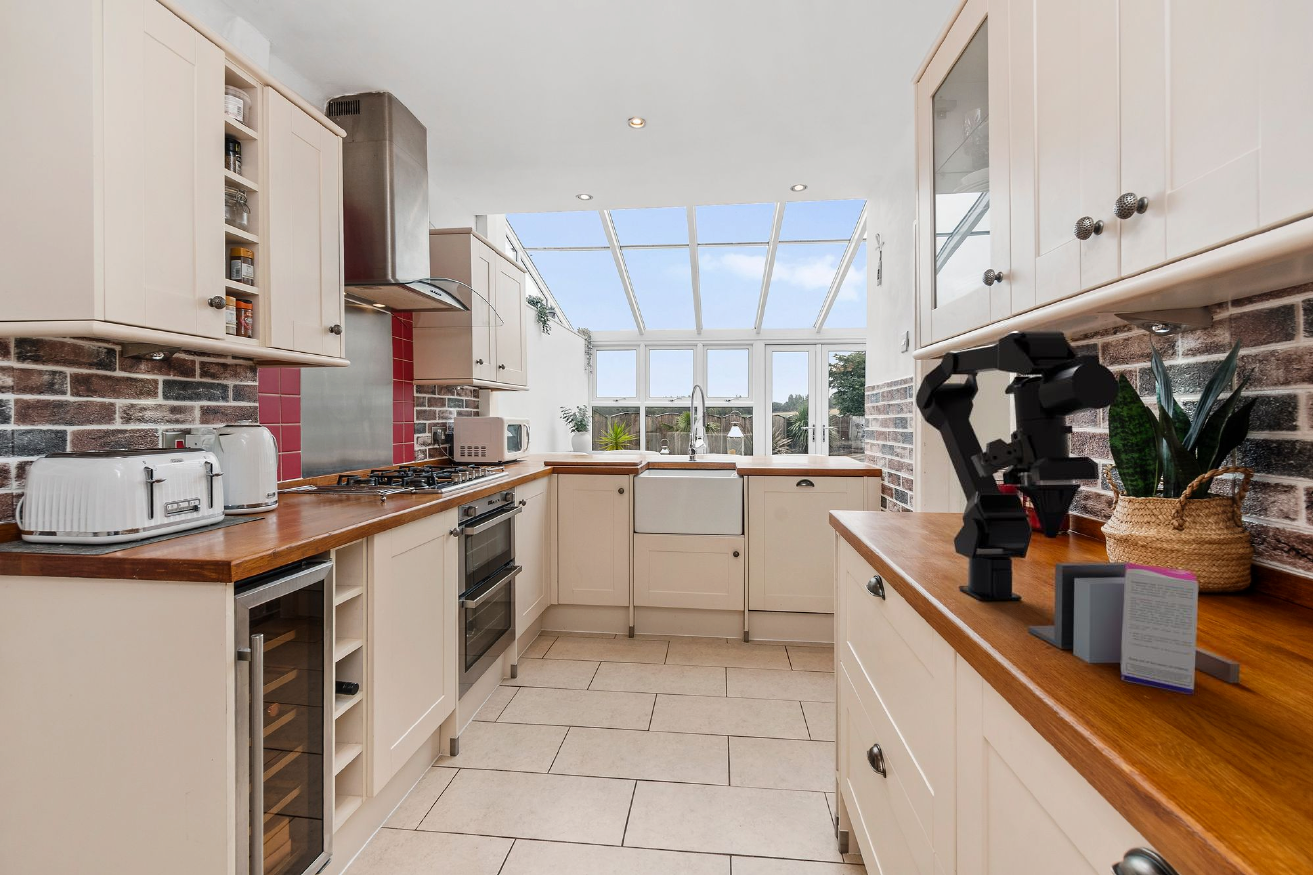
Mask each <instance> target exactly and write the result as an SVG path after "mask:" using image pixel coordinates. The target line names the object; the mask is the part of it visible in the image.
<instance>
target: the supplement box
mask: <svg viewBox="0 0 1313 875" xmlns="http://www.w3.org/2000/svg"><path fill="white" fill-rule="evenodd" d="M1198 597H1199V582H1198V580H1197V578H1196V577H1195V575H1194V574H1193V572H1192V571H1189V570H1184V569H1182V570H1181V569H1174V568H1167V567H1166V568H1165V567H1157V566H1151V565H1142V564H1136V563H1133V564H1129V563H1127V564H1126V565H1125V585H1124V607H1123V624H1122V642H1121V663H1120V676H1121V680H1122V681H1124V682H1128V683H1134V684H1137V685H1138V684H1139V685H1144V686H1148V687H1153V688H1159V689H1163V690H1168V691H1171V692H1172V691H1173V692H1177V693H1182V694H1187V695H1193V694H1194V690H1195V675H1196V674H1195V670H1196V668H1195V652H1196V646H1197V631H1198V630H1197V627H1198V625H1197V624H1198V623H1197V622H1198V601H1199V600H1198V599H1199V598H1198Z"/></svg>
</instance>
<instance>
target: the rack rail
mask: <svg viewBox="0 0 1313 875" xmlns="http://www.w3.org/2000/svg"><path fill="white" fill-rule="evenodd" d="M1240 667H1241V666H1240V663H1238V662H1235V661H1234V660H1230V659H1228V658H1226V657H1223V656H1221V655H1218V654H1216V653H1213V652H1211V651H1208V650H1206V649H1205V648H1204V649H1203V648H1201V647H1199V646H1197V645H1196V652H1195V669H1196V670H1200V671H1202V672H1204V673H1206V674H1208V675H1210V676H1212V677H1215V678H1217V679H1220V680H1222V681H1224V682H1226V683H1228V684H1240V672H1241V671H1240V669H1241V668H1240Z"/></svg>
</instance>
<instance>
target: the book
mask: <svg viewBox="0 0 1313 875" xmlns="http://www.w3.org/2000/svg"><path fill="white" fill-rule="evenodd" d="M1124 585H1125V578H1075V582H1074V649H1073V653H1072V655H1073V656H1075V657H1077V658H1078V659H1080V660H1082V661H1085V662H1086V663H1088V664H1104V663H1105V664H1106V663H1107V664H1109V663H1111V664H1113V663H1114V664H1115V663H1116V664H1117V663H1120V664H1121V642H1122V624H1123V607H1124Z"/></svg>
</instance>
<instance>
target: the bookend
mask: <svg viewBox="0 0 1313 875" xmlns="http://www.w3.org/2000/svg"><path fill="white" fill-rule="evenodd" d="M1127 563H1129V564H1134V563H1132V562H1129V561H1120V562H1117V561H1116V562H1114V561H1113V562H1112V561H1111V562H1055V564H1054V565H1055V566H1054V569H1055V570H1054V572H1055V573H1054V625H1027V627H1026V629H1027V630H1026V631H1027V632H1029V633H1030V634H1032V635H1034V636H1036V637H1038V638H1040V639H1041V640H1043V641H1045V642H1047V643H1049V644H1051V645H1052V646H1054V647H1057V648H1058V649H1060V650H1074V582H1075V578H1125V565H1126V564H1127Z"/></svg>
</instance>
